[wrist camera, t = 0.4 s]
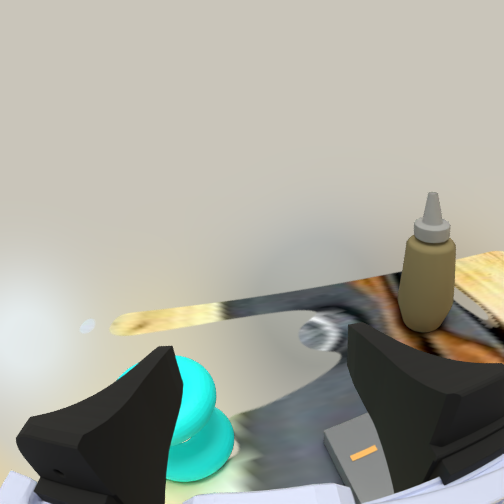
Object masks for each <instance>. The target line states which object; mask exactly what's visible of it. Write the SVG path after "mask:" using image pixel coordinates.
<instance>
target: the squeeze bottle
mask: <svg viewBox="0 0 504 504" xmlns="http://www.w3.org/2000/svg"><path fill="white" fill-rule="evenodd" d="M449 236H450V224H449V222H448V221H446V220H444V219H442V215H441V209H440V203H439V198H438V193H436V192H429V193H428V198H427V202H426V207H425V211H424V216H423V218H419V219H417V220H416V221H415V222H414V235H413V236H411V237H410V238H409V239H408V241H407V243H406V250H405V257H404V263H403V270H402V275H401V281H400V287H399V292H398V303H399V307H400V310H401V314H402V318H403V321H404V323H405V324H406V326H407V327H409V328H410V329H412V330H414V331H418V332H430V331H433V330H436V329H437V328H438V327H439V326H440V325H441V324H442V322H443V320H444V319H445V317H446V316H447V314H448V312H449V311H450V309H451V307H452V304H453V296H454V282H455V258H456V257H455V256H456V245H455V243H454V242H453V240H452V239H451V238H449Z"/></svg>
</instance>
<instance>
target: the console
mask: <svg viewBox="0 0 504 504" xmlns="http://www.w3.org/2000/svg"><path fill="white" fill-rule="evenodd" d="M324 444H325V446H326V448H327V450H328V452H329V454H330V456H331V458H332V460H333V462H334V464H335V466H336V468H337V470H338V472H339V474H340V476H341V478H342V481H343V483H344V485H345V486H346V487H350V489H351V491H352V494H353V497H354V500H355V503H356V504H362V503H365V502H369V501H373V500H376V499H379V498H383V497H386V496H389V495H392V494H394V490H393V485H392V481H391V477H390V473H389V469H388V465H387V462H386V458H385V455H384V452H383V448H382V445H381V442H380V439H379V436H378V434H377V431H376V428H375V426H374V423H373V421H372V419H371V417H370V415H369V413H366V414H363V415H361V416H359V417H356V418H354V419H352V420H349V421H347V422H344V423H342V424H339V425H337V426H334V427H332V428H329V429H327V430H324Z"/></svg>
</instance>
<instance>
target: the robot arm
mask: <svg viewBox="0 0 504 504" xmlns="http://www.w3.org/2000/svg"><path fill="white" fill-rule="evenodd" d="M347 366H348V369H349V372H350V375H351V378H352V381H353V384H354V386H355V388H356V390H357V392H358V394H359V396H360V398H361V400H362V402H363V404H364V405H365V407H366V409H367V411H368V413H369V415H370V417H371V419H372V421H373V423H374V426H375V428H376V431H377V434H378V436H379V439H380V442H381V445H382V448H383V452H384V455H385V458H386V462H387V465H388V469H389V473H390V477H391V481H392V485H393V490H394V494H392V495H389V496H386V497H383V498H379V499H376V500H373V501H369V502H365V503H362V504H504V365H503V364H502V363H471V362H462V361H456V360H451V359H446V358H442V357H438V356H434V355H431V354H428V353H425V352H422V351H419V350H417V349H414V348H412V347H410V346H407V345H405V344H403V343H401V342H399V341H397V340H395V339H393V338H391V337H389V336H387V335H385V334H384V333H382V332H380V331H378V330H376V329H374V328H373V327H371V326H369V325H367V324H365V323H363V322H361V323H356V324H350V325H348V356H347ZM183 385H184V384H183V380H182V377H181V374H180V371H179V367H178V364H177V360H176V357H175V353H174V350H173V346H159V347H157V348H156V349H155V350H153V351H152V352H151V353H150V354H149V355H148V356H146V357H145V358H144V359H143V360H142V361H140V362H139V363H138V364H137V365H136V366H135V367H133V368H132V369H131V370H130V371H128V372H127V373H126V374H125V375H123V376H122V377H121V378H119V379H118V380H117V381H116V382H114V383H113V384H111V385H110V386H108V387H107V388H105V389H103V390H102V391H100V392H98V393H97V394H95V395H93V396H91V397H89V398H87V399H85V400H83V401H81V402H78V403H77V404H74V405H71V406H69V407H66V408H63V409H60V410H57V411H54V412H50V413H46V414H42V415H37V416H33V417H30V418H29V419H28V421H27V422H26V424H25V425H24V427H23V428H22V430H21V431H20V433H19V434H18V436H17V437H16V443H17V446H18V448H19V450H20V452H21V453H22V455H23V456H24V458H25V459H26V460H27V461H28V463H29V464H30V465H31V466H32V467H33V469H34V470H35V471H36V472H37V473H38V474H39V476H40V479H39V481H38V483H37V482H36V481H34V480H33V479H31V478H29V477H27V476H24V475H22V474H19V473H16V472H14V471H10V473H9V474H8V476H7V478H6V479H5V481H4V483H3V484H2V486H1V488H0V504H165V485H166V473H167V464H168V456H169V450H170V445H171V441H172V437H173V433H174V430H175V426H176V422H177V419H178V415H179V411H180V407H181V403H182V395H183ZM183 504H356V503H355V500H354V497H353V494H352V491H351V489H350V487H346V486H342V485H338V484H335V483H325V484H311V485H305V486H299V487H291V488H284V489H275V490H264V491H252V492H232V493H210V494H202V495H196V496H194V497H192V498H190V499H188V500H187V501H185V502H183Z"/></svg>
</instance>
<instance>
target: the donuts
mask: <svg viewBox="0 0 504 504" xmlns="http://www.w3.org/2000/svg"><path fill="white" fill-rule="evenodd" d="M175 357H176V360H177V364H178V367H179V371H180V374H181V377H182V380H183V384H184V385H183V395H182V403H181V407H180V411H179V415H178V419H177V422H176V426H175V430H174V433H173V437H172V441H171V445H170V450H169V456H168V464H167V473H166V479H169V480H173V481H179V482H189V481H195V480H200V479H203V478H205V477H207V476H210V475H211V474H213V473H215V472H216V471H217V470H219V469H220V468H221V467H222V466H223V465H224V464H225V462H226V461H227V460H228V458H229V456H230V454H231V452H232V449H233V446H234V431H233V428H232V425H231V423H230V421H229V419H228V418H227V417H226V416H225V414H224V413H223V412H222V411H220V410H219V409H217V408H216V407H215V403H216V388H215V384H214V381H213V379H212V377H211V375H210V374H209V373H208V371H207V370H206V369H205V368H204V367H203V366H202V365H200V364H199V363H197V362H196V361H194V360H192V359H189V358H186V357H182V356H175ZM137 364H138V363H137ZM137 364H135V365H134V366H132V367H130V368H129V369H128V370H126V371H125V372H124V373H123V374H122V375H121V376H120V377H119V378H121V377H122V376H123V375H125V374H126V373H127V372H128V371H130V370H131V369H132V368H133V367H135V366H136V365H137ZM119 378H118V379H119ZM118 379H117V380H118ZM189 438H190V439H189ZM188 439H189V440H188ZM186 440H188V441H186ZM184 441H186V442H184ZM182 442H183V443H182Z"/></svg>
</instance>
